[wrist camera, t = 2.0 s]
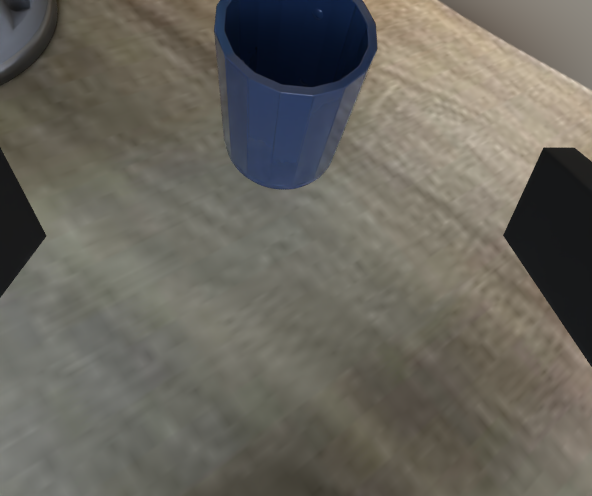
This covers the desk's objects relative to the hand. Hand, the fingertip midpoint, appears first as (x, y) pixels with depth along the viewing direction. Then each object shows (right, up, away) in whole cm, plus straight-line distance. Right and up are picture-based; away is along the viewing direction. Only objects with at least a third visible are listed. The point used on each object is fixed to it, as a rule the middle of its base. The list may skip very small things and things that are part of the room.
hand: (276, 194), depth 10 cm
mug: (0, +8, +19) cm, 21 cm away
